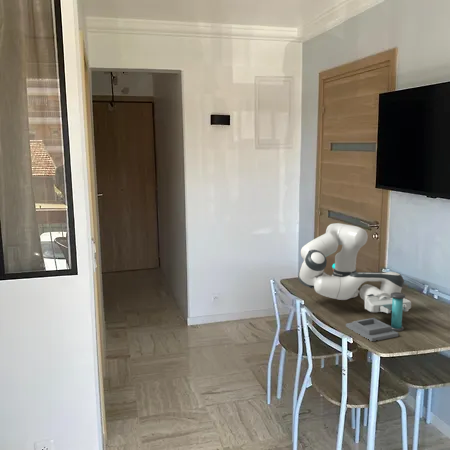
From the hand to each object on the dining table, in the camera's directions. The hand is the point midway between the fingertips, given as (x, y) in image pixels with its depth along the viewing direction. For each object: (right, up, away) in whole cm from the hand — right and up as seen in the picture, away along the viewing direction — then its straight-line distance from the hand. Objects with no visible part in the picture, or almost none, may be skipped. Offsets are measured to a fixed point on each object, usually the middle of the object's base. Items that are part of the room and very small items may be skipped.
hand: (398, 310), depth 207 cm
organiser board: (-12, -9, 0) cm, 15 cm away
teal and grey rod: (0, -9, +2) cm, 9 cm away
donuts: (-6, +4, +78) cm, 79 cm away
